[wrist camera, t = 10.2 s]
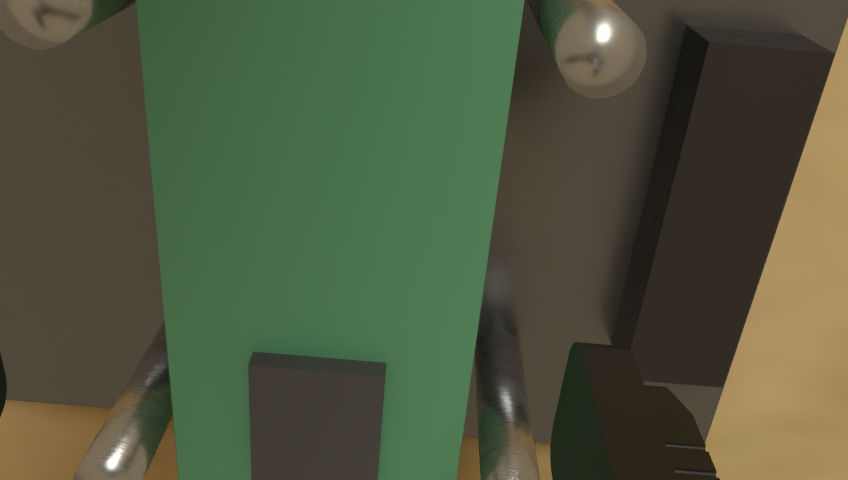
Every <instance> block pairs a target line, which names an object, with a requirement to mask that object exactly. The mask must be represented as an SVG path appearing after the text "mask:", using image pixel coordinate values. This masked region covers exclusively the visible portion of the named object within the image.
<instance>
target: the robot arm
mask: <svg viewBox="0 0 848 480" xmlns="http://www.w3.org/2000/svg"><path fill="white" fill-rule="evenodd" d="M6 394H7V380H6V375H5V370H4V366H3V361H2V357H1V353H0V416H1V414H2V411H3V408H4V405H5V400H6ZM705 446H706V445H705V443H704V440H703V438H702V435H701V433H700V431H699V428H698V426H697V423H696V421H695V419H694V416H693V414H692V413H691V412H690V411H689V410H688V409H687V408H686V407H685V406H684V405H683V404H682V403H681V402H680V400H679V399H678V398H677V397H676V396H675V395H674V394H673V393H672V392H671V391H670V390H669V389H668V388H667V387H662V386H650V385H644V383H643V380H642V377H641V374H640V371H639V369H638V366H637V363H636V360H635V357H634V354H633V352H632V350H631V349H630V348H629V347H628V346H616V345H605V344H593V343H581V342H575V343H573V345H572V347H571V349H570V352H569V356H568V360H567V365H566V369H565V373H564V378H563V382H562V387H561V391H560V396H559V400H558V405H557V409H556V414H555V418H554V423H553V428H552V435H551V451H550V453H551V471H552V478H553V480H720V479H719V478H716V469H715V467H714V464H713V462H712V460H711V457H710V455H709V452H706V451H705Z"/></svg>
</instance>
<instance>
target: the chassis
mask: <svg viewBox="0 0 848 480" xmlns="http://www.w3.org/2000/svg"><path fill="white" fill-rule="evenodd" d="M847 18H848V0H524V7H523V15H522V22H521V29H520V36H519V43H518V50H517V57H516V64H515V71H514V78H513V85H512V92H511V99H510V106H509V113H508V120H507V127H506V134H505V141H504V148H503V155H502V162H501V170H500V177H499V184H498V191H497V198H496V205H495V212H494V219H493V226H492V233H491V240H490V247H489V254H488V261H487V268H486V275H485V282H484V289H483V296H482V303H481V310H480V317H479V325H478V332H477V339H476V346H475V353H474V360H473V367H472V374H471V381H470V388H469V395H468V402H467V409H466V416H465V423H464V430H463V436H466V437H478V438H479V456H480V474H481V480H540V477H539V470H538V464H537V457H536V450H535V443H534V442H541V443H551V435H552V428H553V423H554V418H555V414H556V409H557V405H558V400H559V396H560V391H561V387H562V382H563V378H564V373H565V369H566V365H567V360H568V356H569V352H570V349H571V347H572V345H573V343H575V342H581V343H593V344H605V345H616V346H628V347H629V348H630V349H631V350H632V352H633V354H634V357H635V360H636V363H637V366H638V369H639V371H640V374H641V377H642V380H643V383H644V385H650V386H662V387H667V388H668V389H669V390H670V391H671V392H672V393H673V394H674V395H675V396H676V397H677V398H678V399H679V400H680V402H681V403H682V404H683V405H684V406H685V407H686V408H687V409H688V410H689V411H690V412H691V413H692V414H693V416H694V419H695V421H696V423H697V426H698V428H699V431H700V433H701V435H702V438H703V440H704V443H705V441H706V438H707V435H708V432H709V429H710V426H711V423H712V420H713V418H714V415H715V412H716V409H717V406H718V403H719V400H720V397H721V394H722V391H723V388H724V385H725V382H726V379H727V376H728V373H729V370H730V367H731V364H732V361H733V358H734V355H735V352H736V349H737V346H738V343H739V340H740V337H741V334H742V331H743V328H744V325H745V322H746V319H747V316H748V313H749V310H750V307H751V304H752V301H753V298H754V295H755V292H756V289H757V286H758V283H759V280H760V277H761V274H762V271H763V268H764V265H765V262H766V259H767V256H768V253H769V251H770V248H771V245H772V242H773V239H774V236H775V233H776V230H777V227H778V224H779V221H780V218H781V215H782V212H783V209H784V206H785V203H786V200H787V197H788V194H789V191H790V188H791V185H792V182H793V179H794V176H795V173H796V170H797V167H798V164H799V161H800V158H801V155H802V152H803V149H804V146H805V143H806V140H807V137H808V134H809V131H810V128H811V125H812V122H813V119H814V116H815V113H816V110H817V107H818V104H819V101H820V98H821V95H822V92H823V89H824V86H825V83H826V81H827V78H828V75H829V72H830V69H831V66H832V63H833V60H834V57H835V54H836V51H837V48H838V45H839V42H840V39H841V36H842V33H843V30H844V27H845V24H846V21H847ZM0 353H1V357H2V361H3V366H4V370H5V375H6V380H7V394H6V400H19V401H31V402H43V403H56V404H68V405H81V406H93V407H106V408H112V410H111V412H110V414H109V415H108V417H107V419H106V420H105V422H104V424H103V426H102V427H101V429H100V431H99V432H98V434H97V436H96V438H95V439H94V441H93V443H92V444H91V446H90V448H89V450H88V451H87V453H86V455H85V457H84V458H83V460H82V462H81V463H80V465H79V467H78V469H77V470H76V472H75V474H74V477H73V480H143V478H144V476H145V474H146V472H147V470H148V467H149V465H150V463H151V461H152V459H153V457H154V455H155V453H156V450H157V448H158V446H159V444H160V442H161V440H162V438H163V436H164V433H165V431H166V429H167V427H168V425H169V423H170V421H171V419H172V416H173V409H172V398H171V387H170V376H169V365H168V353H167V342H166V331H165V320H164V308H163V297H162V286H161V275H160V264H159V252H158V241H157V230H156V219H155V207H154V196H153V185H152V174H151V163H150V151H149V140H148V129H147V118H146V106H145V95H144V84H143V73H142V61H141V50H140V39H139V28H138V17H137V5H136V0H0Z"/></svg>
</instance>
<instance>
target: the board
mask: <svg viewBox="0 0 848 480" xmlns="http://www.w3.org/2000/svg"><path fill="white" fill-rule="evenodd" d="M136 5H137V17H138V28H139V39H140V50H141V61H142V73H143V84H144V95H145V106H146V118H147V129H148V140H149V151H150V163H151V174H152V185H153V196H154V207H155V219H156V230H157V241H158V252H159V264H160V275H161V286H162V297H163V308H164V320H165V331H166V342H167V353H168V365H169V376H170V387H171V398H172V409H173V421H174V432H175V443H176V454H177V466H178V477H179V480H457V472H458V465H459V458H460V451H461V444H462V437H463V430H464V423H465V416H466V409H467V402H468V395H469V388H470V381H471V374H472V367H473V360H474V353H475V346H476V339H477V332H478V325H479V317H480V310H481V303H482V296H483V289H484V282H485V275H486V268H487V261H488V254H489V247H490V240H491V233H492V226H493V219H494V212H495V205H496V198H497V191H498V184H499V177H500V170H501V162H502V155H503V148H504V141H505V134H506V127H507V120H508V113H509V106H510V99H511V92H512V85H513V78H514V71H515V64H516V57H517V50H518V43H519V36H520V29H521V22H522V15H523V7H524V0H136Z"/></svg>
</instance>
